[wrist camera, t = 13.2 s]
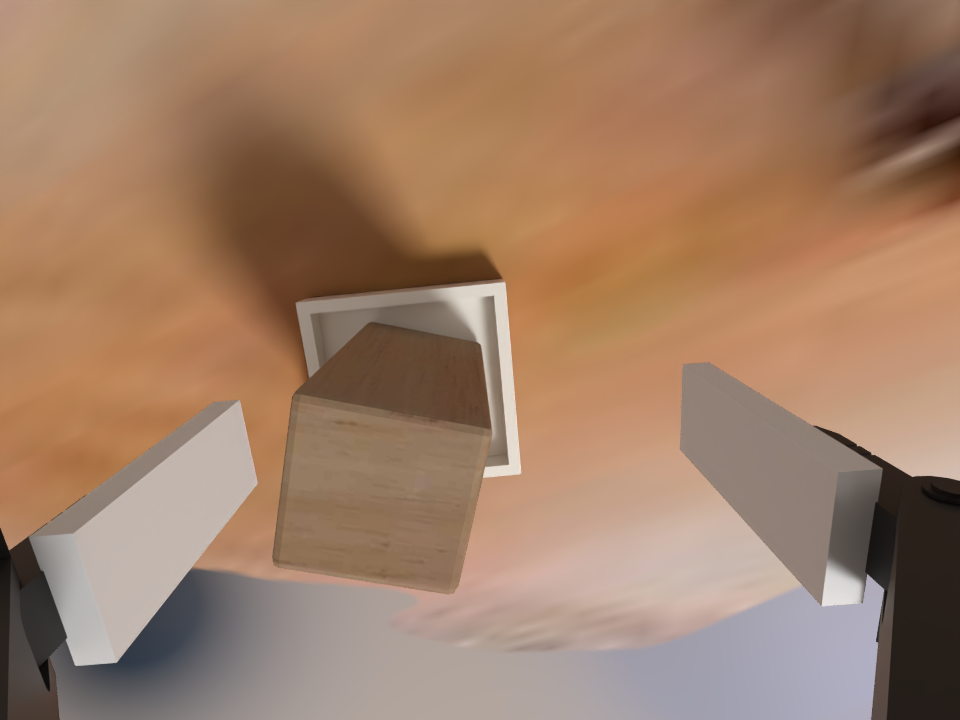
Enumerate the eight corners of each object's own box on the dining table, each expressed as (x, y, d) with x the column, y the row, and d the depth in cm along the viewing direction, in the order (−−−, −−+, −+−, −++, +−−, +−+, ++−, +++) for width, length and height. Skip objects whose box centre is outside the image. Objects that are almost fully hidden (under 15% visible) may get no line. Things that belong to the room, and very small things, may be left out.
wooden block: (460, 447, 47) (456, 600, 28) (351, 427, 46) (268, 570, 27) (482, 342, 45) (495, 428, 25) (367, 319, 44) (289, 390, 24)
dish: (306, 298, 44) (295, 302, 41) (502, 278, 44) (505, 282, 41) (338, 477, 49) (330, 492, 46) (517, 459, 49) (521, 473, 46)
